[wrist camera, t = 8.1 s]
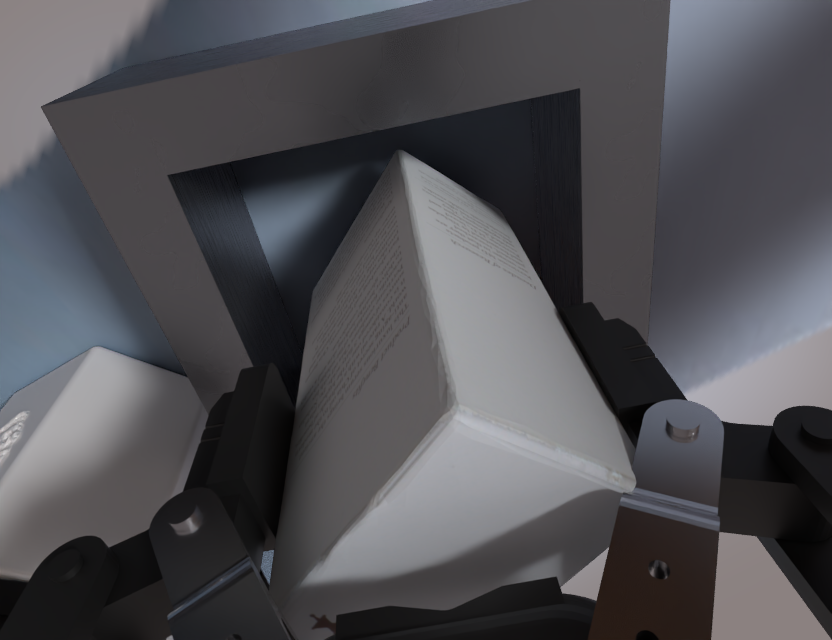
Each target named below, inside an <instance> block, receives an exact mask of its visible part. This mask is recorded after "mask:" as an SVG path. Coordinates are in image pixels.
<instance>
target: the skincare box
mask: <svg viewBox="0 0 832 640" xmlns="http://www.w3.org/2000/svg"><path fill="white" fill-rule="evenodd" d="M635 452H636V449H635V447H634V446H633V444H632V442H631V440H630V439H629V437H628V435H627V433H626V432H625V430H624V428H623V426H622V425H621V423H620V421H619V419H618V418H617V416H616V414H615V412H614V410H613V409H612V407H611V405H610V403H609V401H608V400H607V398H606V396H605V394H604V393H603V391H602V389H601V387H600V385H599V384H598V382H597V380H596V378H595V376H594V374H593V372H592V371H591V369H590V368H589V366H588V364H587V362H586V360H585V358H584V357H583V355H582V353H581V352H580V350H579V348H578V346H577V344H576V343H575V341H574V339H573V338H572V336H571V334H570V332H569V331H568V329H567V327H566V325H565V324H564V322H563V320H562V318H561V316H560V315H559V313H558V311H557V309H556V307H555V306H554V304H553V302H552V300H551V298H550V297H549V295H548V293H547V291H546V290H545V288H544V286H543V284H542V282H541V281H540V279H539V277H538V275H537V273H536V272H535V270H534V268H533V266H532V265H531V263H530V261H529V259H528V257H527V255H526V254H525V252H524V250H523V248H522V247H521V245H520V243H519V241H518V239H517V238H516V236H515V234H514V232H513V231H512V229H511V227H510V225H509V223H508V222H507V220H506V218H505V216H504V215H503V213H502V211H501V210H500V209H498V208H497V207H496V206H494V205H492V204H491V203H489V202H487V201H485V200H483V199H482V198H480V197H478V196H476V195H475V194H473V193H471V192H470V191H468V190H467V189H465V188H464V187H462V186H460V185H459V184H457V183H456V182H454V181H452V180H451V179H449V178H448V177H446V176H444V175H443V174H441V173H439V172H438V171H436V170H434V169H433V168H431V167H430V166H428V165H426V164H425V163H423V162H421V161H420V160H418V159H417V158H415V157H413V156H412V155H410V154H408V153H407V152H405V151H403V150H400V149H399V150H396V151H395V153H394V155H393V156H392V158H391V160H390V162H389V163H388V165H387V167H386V168H385V170H384V172H383V173H382V175H381V177H380V178H379V180H378V182H377V183H376V185H375V187H374V188H373V190H372V192H371V193H370V195H369V197H368V199H367V200H366V202H365V204H364V205H363V207H362V209H361V211H360V212H359V214H358V215H357V217H356V219H355V220H354V222H353V224H352V225H351V227H350V229H349V231H348V232H347V234H346V236H345V237H344V239H343V241H342V242H341V244H340V246H339V247H338V249H337V251H336V253H335V254H334V256H333V258H332V259H331V261H330V263H329V265H328V266H327V268H326V270H325V271H324V273H323V275H322V276H321V278H320V280H319V282H318V283H317V285H316V286H315V288H314V290H313V292H312V299H311V306H310V313H309V320H308V326H307V333H306V340H305V347H304V353H303V361H302V369H301V376H300V382H299V390H298V397H297V403H296V410H295V417H294V424H293V431H292V436H291V442H290V450H289V457H288V464H287V471H286V478H285V485H284V492H283V499H282V506H281V512H280V517H279V523H278V529H277V536H276V542H275V549H274V556H273V563H272V570H271V578H270V587H269V592H270V594H271V596H272V597H273V599H274V601H275V602H276V604H277V606H278V607H279V609H280V610H281V612H282V614H283V615H284V617H285V619H286V620H287V622H288V624H289V625H290V626H291V628H292V629H293V631H294V633H295V634H296V636H297V638H298V639H299V640H325V639H326V638H328V637H330V636H332V635H334V634H335V633H336V615H339V614H345V613H350V612H356V611H362V610H367V609H373V608H379V607H385V606H400V607H411V608H421V609H432V610H450V609H453V608H455V607H457V606H459V605H462V604H464V603H466V602H468V601H470V600H472V599H475V598H477V597H479V596H481V595H483V594H485V593H488V592H490V591H492V590H494V589H496V588H499V587H501V586H504V585H510V584H516V583H521V582H527V581H533V580H538V579H544V578H550V577H556V576H557V579H558V582H559V585H560V587H561V586H563V585H564V584H565V583H566V582H567V581H568V580H570V579H571V578H572V577H573V576H575V574H577V573H578V572H579V571H580V570H582V569H583V568H584V567H585V566H587V565H588V564H589V563H590V562H591V561H593V560H594V559H595V558H596V557H597V556H599V555H600V554H601V553H602V552H603V551H605V550H606V549H607V548H608V547H609V546H610V542H611V538H612V533H613V529H614V525H615V521H616V516H617V512H618V508H619V504H620V500H621V496H622V494H623V492H632V491H633V490H634V488H635V486H636V483H637V482H636V478H635V475H634V473H633V471H632V465H633V461H634V456H635Z"/></svg>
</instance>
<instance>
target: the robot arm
mask: <svg viewBox="0 0 832 640" xmlns="http://www.w3.org/2000/svg"><path fill="white" fill-rule="evenodd" d="M559 315H560V316H561V318H562V320H563V322H564V324H565V325H566V327H567V329H568V331H569V332H570V334H571V336H572V338H573V339H574V341H575V343H576V344H577V346H578V348H579V350H580V352H581V353H582V355H583V357H584V358H585V360H586V362H587V364H588V366H589V368H590V369H591V371H592V372H593V374H594V376H595V378H596V380H597V382H598V384H599V385H600V387H601V389H602V391H603V393H604V394H605V396H606V398H607V400H608V401H609V403H610V405H611V407H612V409H613V410H614V412H615V414H616V416H617V418H618V419H619V421H620V423H621V425H622V426H623V428H624V430H625V432H626V433H627V435H628V437H629V439H630V440H631V442H632V444H633V446H634V447H635V449H636V452H635V456H634V461H633V465H632V471H633V473H634V475H635V478H636V482H637V483H636V486H635V488H634V490H633V491H632V492H623V494H622V496H621V500H620V504H619V508H618V512H617V516H616V521H615V525H614V529H613V533H612V538H611V542H610V546H609V551H608V555H607V559H606V564H605V568H604V572H603V576H602V580H601V585H600V589H599V593H598V597H597V601H595V600H592V599H589V598H586V597H581V596H576V595H571V594H562V592H561V589H560V585H559V582H558V579H557V576H556V577H550V578H544V579H538V580H533V581H527V582H521V583H516V584H510V585H504V586H501V587H499V588H496V589H494V590H492V591H490V592H488V593H485V594H483V595H481V596H479V597H477V598H475V599H472V600H470V601H468V602H466V603H464V604H462V605H459V606H457V607H455V608H453V609H450V610H432V609H421V608H411V607H400V606H385V607H379V608H373V609H367V610H362V611H356V612H350V613H345V614H339V615H336V633H335V634H334V635H332V636H330V637H328V638H326V639H325V640H711V632H712V619H713V607H714V593H715V592H714V591H715V579H716V566H717V554H718V540H719V532H726V533H734V534H742V535H751V536H757V538H758V539H759V540H760V542H761V543H762V544H763V546H764V547H765V549H766V550H767V551H768V553H769V554H770V555H771V557H772V558H773V559H774V561H775V562H776V564H777V565H778V566H779V568H780V569H781V571H782V572H783V573H784V575H785V576H786V577H787V579H788V580H789V582H790V583H791V584H792V586H793V587H794V588H795V590H796V591H797V592H798V594H799V595H800V597H801V598H802V599H803V601H804V602H805V603H806V605H807V606H808V608H809V609H810V610H811V612H812V613H813V614H814V616H815V617H816V618H817V620H818V621H819V623H820V624H821V625H822V627H823V628H824V629H825V631H826V632H827V634H828V635H829V636H830V638H831V639H832V411H831V410H829V409H825V408H821V407H815V406H796V407H791V408H788V409H785V410H784V411H782V412H780V413H779V414H778V415H777V416H776V418H775V420H774V423H773V426H764V425H748V424H735V423H728V422H723V421H721V420H720V419H719V417H718V416H717V415H716V414H715V413H714V412H712V411H711V410H710V409H708V408H707V407H705V406H703V405H700V404H698V403H695V402H692V401H688V400H687V399H686V398H685V396H684V395H683V393H682V392H681V391H680V389H679V388H678V386H677V385H676V384H675V382H674V381H673V380H672V378H671V377H670V375H669V374H668V373H667V371H666V370H665V368H664V367H663V366H662V364H661V363H660V361H659V360H658V359H657V358H655V354H654V353H653V352H652V350H651V349H650V348H649V346H647V345H646V342H645V341H644V339H643V338H642V336H641V335H640V334H639V332H638V331H637V329H636V328H634V327H632V326H631V325H629V324H627V323H626V322H624V321H622V320H621V319H619V318H615V319H610V320H604V319H603V317H602V316H601V314H600V313H599V311H598V310H597V308H596V306H595V305H594V304H593V303H592V302H587V303H582V304H577V305H572V306H567V307H561V308H560V309H559ZM294 417H295V411H294V408H293V405H292V403H291V400H290V398H289V396H288V393H287V391H286V388H285V386H284V384H283V381H282V379H281V376H280V374H279V372H278V369H277V367H276V366H275V365H274V364H273V363H269V364H264V365H259V366H254V367H249V368H243V369H241V371H240V373H239V377H238V380H237V383H236V387H235V390H234V391H232V392H227V393H224V394H223V395H222V396H221V397H220V399H219V400H218V401H217V402H216V403H215V405H214V406H213V407H212V408H211V410H210V413H209V416H208V419H207V422H206V425H205V429H204V431H203V433H202V436H201V439H200V440H201V443H199V445H198V448H197V451H196V454H195V457H194V460H193V463H192V466H191V469H190V472H189V475H188V478H187V481H186V483H185V486H184V489H183V492H181V493H179V494H177V495H176V496H174V497H172V498H171V499H170V500H168V501H167V502H166V503H165V504H164V505H163V506H162V507H161V508H160V509H159V510H158V511H157V513H156V514H155V516H154V517H153V519H152V521H151V524H150V528H149V529H148V530H146V531H144V532H142V533H140V534H137V535H135V536H133V537H131V538H129V539H127V540H124V541H122V542H120V543H118V544H116V545H113V546H111V547H108V546H107V545H106V543H105V542H104V541H103V540H102V539H101V538H99V537H97V536H91V535H90V536H82V537H78V538H75V539H73V540H71V541H68V542H66V543H65V544H63V545H61V546H60V547H58V548H57V549H55V550H54V551H53V552H52V553H50V554H49V555H48V556H47V557H46V558H45V559H44V560H43V561H42V562H41V564H40V565H39V566H38V567H37V569H36V570H35V572H34V573H33V575H32V577H31V578H30V580H29V582H28V584H27V585H26V587H25V589H24V591H23V592H22V594H21V596H20V597H19V599H18V601H17V603H16V604H15V606H14V608H13V610H12V611H11V613H10V615H9V616H8V618H7V620H6V622H5V623H4V625H3V627H2V629H1V630H0V640H166V639H167V637H169V636H171V635H172V636H173V640H299V639H298V638H297V636H296V634H295V633H294V631H293V629H292V628H291V626H290V625H289V624H288V622H287V620H286V619H285V617H284V615H283V614H282V612H281V610H280V609H279V607H278V606H277V604H276V602H275V601H274V599H273V597H272V596H271V594H270V592H269V587H270V584H269V582H268V580H267V578H266V576H265V574H264V572H263V571H262V569H261V562H262V557H263V551H269V550H274V549H275V542H276V536H277V529H278V523H279V517H280V512H281V506H282V499H283V492H284V485H285V478H286V471H287V464H288V457H289V450H290V442H291V436H292V431H293V424H294Z"/></svg>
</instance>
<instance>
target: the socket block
mask: <svg viewBox="0 0 832 640" xmlns="http://www.w3.org/2000/svg"><path fill="white" fill-rule="evenodd" d="M669 13H670V0H433V1H428V2H423V3H419V4H414V5H410V6H405V7H401V8H396V9H391V10H387V11H382V12H378V13H373V14H369V15H364V16H359V17H355V18H350V19H346V20H341V21H336V22H332V23H327V24H323V25H318V26H314V27H309V28H304V29H300V30H295V31H291V32H286V33H282V34H277V35H272V36H268V37H263V38H259V39H254V40H250V41H245V42H240V43H236V44H231V45H227V46H222V47H217V48H213V49H208V50H204V51H199V52H195V53H190V54H185V55H181V56H176V57H172V58H167V59H163V60H158V61H153V62H149V63H144V64H140V65H135V66H130V67H126V68H122V69H120V70H118V71H116V72H114V73H112V74H110V75H107V76H105V77H103V78H101V79H99V80H97V81H95V82H92V83H90V84H88V85H86V86H84V87H82V88H80V89H78V90H75V91H73V92H71V93H69V94H67V95H65V96H63V97H60V98H58V99H56V100H54V101H52V102H50V103H48V104H46V105H43V106H41V108H42V110H43V112H44V113H45V115H46V117H47V119H48V121H49V123H50V125H51V126H52V128H53V130H54V132H55V134H56V136H57V138H58V139H59V141H60V143H61V145H62V147H63V149H64V150H65V152H66V154H67V156H68V158H69V160H70V161H71V163H72V165H73V167H74V169H75V171H76V172H77V174H78V176H79V178H80V180H81V182H82V183H83V185H84V187H85V189H86V191H87V193H88V195H89V196H90V198H91V200H92V202H93V204H94V206H95V207H96V209H97V211H98V213H99V215H100V217H101V218H102V220H103V222H104V224H105V226H106V228H107V229H108V231H109V233H110V235H111V237H112V239H113V240H114V242H115V244H116V246H117V248H118V250H119V252H120V253H121V255H122V257H123V259H124V261H125V263H126V264H127V266H128V268H129V270H130V272H131V274H132V275H133V277H134V279H135V281H136V283H137V285H138V286H139V288H140V290H141V292H142V294H143V296H144V298H145V299H146V301H147V303H148V305H149V307H150V309H151V310H152V312H153V314H154V316H155V318H156V320H157V321H158V323H159V325H160V327H161V329H162V331H163V332H164V334H165V336H166V338H167V340H168V342H169V343H170V345H171V347H172V349H173V351H174V353H175V355H176V356H177V358H178V360H179V362H180V364H181V366H182V367H183V369H184V371H185V373H186V375H187V377H188V378H189V380H190V382H191V384H192V386H193V388H194V389H195V391H196V393H197V395H198V397H199V399H200V400H201V402H202V404H203V406H204V408H205V410H206V412H207V413H208V415H209V413H210V410H211V408H212V407H213V406H214V405H215V403H216V402H217V401H218V400H219V399H220V397H221V396H222V395H223V394H224V393H227V392H232V391H234V390H235V387H236V383H237V380H238V377H239V373H240V371H241V369H243V368H249V367H254V366H259V365H264V364H269V363H273V364H274V365H275V366H276V367H277V369H278V372H279V374H280V376H281V379H282V381H283V384H284V386H285V388H286V391H287V393H288V396H289V398H290V400H291V403H292V405H293V408H294V411H295V410H296V403H297V397H298V390H299V382H300V376H301V369H302V361H303V355H302V352H301V350H300V347H299V344H298V342H297V339H296V336H295V334H294V331H293V328H292V326H291V323H290V321H289V318H288V315H287V313H286V310H285V307H284V305H283V302H282V300H281V297H280V294H279V292H278V289H277V286H276V284H275V281H274V278H273V276H272V273H271V271H270V268H269V265H268V263H267V260H266V257H265V255H264V252H263V249H262V247H261V244H260V242H259V239H258V236H257V234H256V231H255V228H254V226H253V223H252V220H251V218H250V215H249V213H248V210H247V207H246V205H245V202H244V199H243V197H242V194H241V192H240V189H239V186H238V184H237V181H236V178H235V176H234V173H233V170H232V168H231V165H230V163H229V162H231V161H236V160H241V159H246V158H250V157H255V156H260V155H265V154H269V153H274V152H279V151H284V150H288V149H293V148H298V147H303V146H307V145H312V144H317V143H322V142H326V141H331V140H336V139H341V138H345V137H350V136H355V135H360V134H364V133H369V132H374V131H379V130H383V129H388V128H393V127H398V126H402V125H407V124H412V123H417V122H421V121H426V120H431V119H436V118H440V117H445V116H450V115H455V114H459V113H464V112H469V111H474V110H479V109H483V108H488V107H493V106H498V105H502V104H507V103H512V102H517V101H521V100H526V99H530V101H531V117H532V133H533V148H534V164H535V180H536V196H537V211H538V227H539V243H540V259H541V274H542V284H543V286H544V288H545V290H546V291H547V293H548V295H549V297H550V298H551V300H552V302H553V304H554V306H555V307H556V309H557V311H558V313H559V309H560V308H561V307H567V306H572V305H577V304H582V303H587V302H592V303H593V304H594V305H595V306H596V308H597V310H598V311H599V313H600V314H601V316H602V317H603V319H604V320H610V319H615V318H619V319H621V320H622V321H624V322H626V323H627V324H629V325H631V326H632V327H634V328H636V329H637V331H638V332H639V334H640V335H641V336H642V338H643V339H644V341H645V342H646V345H648V330H649V315H650V300H651V285H652V270H653V255H654V240H655V225H656V209H657V194H658V179H659V164H660V149H661V134H662V119H663V104H664V89H665V74H666V59H667V43H668V28H669Z"/></svg>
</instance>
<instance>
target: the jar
mask: <svg viewBox="0 0 832 640" xmlns="http://www.w3.org/2000/svg"><path fill="white" fill-rule="evenodd" d="M208 416H209V415H208V413H207V412H206V410H205V408H204V406H203V404H202V402H201V400H200V399H199V397H198V395H197V393H196V391H195V389H194V388H193V386H192V384H191V382H190V380H189V378H188V377H185V376H183V375H180V374H177V373H174V372H171V371H168V370H166V369H163V368H160V367H157V366H154V365H151V364H149V363H146V362H143V361H140V360H137V359H134V358H132V357H129V356H126V355H123V354H120V353H117V352H115V351H112V350H109V349H106V348H103V347H100V346H95V347H92V348H91V349H89V350H87V351H85V352H84V353H82V354H80V355H79V356H77V357H75V358H74V359H72V360H70V361H69V362H67V363H65V364H63V365H62V366H60V367H58V368H57V369H55V370H53V371H52V372H50V373H48V374H46V375H45V376H43V377H41V378H40V379H38V380H36V381H35V382H33V383H31V384H29V385H28V386H26V387H24V388H23V389H21V390H19V391H18V392H16V393H15V394H13V396H12V397H11V398H10V399H9V401H8V402H7V403H6V404H5V406H4V407H3V408H2V409H1V411H0V630H1V629H2V627H3V625H4V623H5V622H6V620H7V618H8V616H9V615H10V613H11V611H12V610H13V608H14V606H15V604H16V603H17V601H18V599H19V597H20V596H21V594H22V592H23V591H24V589H25V587H26V585H27V584H28V582H29V580H30V578H31V577H32V575H33V573H34V572H35V570H36V569H37V567H38V566H39V565H40V564H41V562H42V561H43V560H44V559H45V558H46V557H47V556H48V555H49V554H50V553H52V552H53V551H54V550H55V549H57V548H58V547H60V546H61V545H63V544H65V543H66V542H68V541H71V540H73V539H75V538H78V537H82V536H90V535H91V536H97V537H99V538H101V539H102V540H103V541H104V542H105V543H106V545H107V546H108V547H111V546H113V545H116V544H118V543H120V542H122V541H124V540H127V539H129V538H131V537H133V536H135V535H137V534H140V533H142V532H144V531H146V530H148V529H149V528H150V524H151V521H152V519H153V517H154V516H155V514H156V513H157V511H158V510H159V509H160V508H161V507H162V506H163V505H164V504H165V503H166V502H167V501H168V500H170V499H171V498H172V497H174V496H176V495H177V494H179V493H181V492H183V489H184V486H185V483H186V481H187V478H188V475H189V472H190V469H191V466H192V463H193V460H194V457H195V454H196V451H197V448H198V445H199V443H201V440H200V439H201V436H202V433H203V431H204V429H205V425H206V422H207V419H208ZM166 640H173V636H172V635H171V636H169V637H167V639H166Z"/></svg>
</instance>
